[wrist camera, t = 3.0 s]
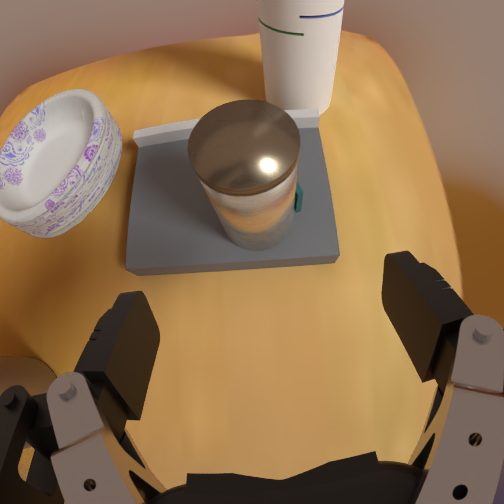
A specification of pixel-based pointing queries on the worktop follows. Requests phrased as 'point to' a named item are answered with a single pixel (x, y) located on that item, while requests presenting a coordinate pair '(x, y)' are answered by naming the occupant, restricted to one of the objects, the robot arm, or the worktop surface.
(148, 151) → the display shelf
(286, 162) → the tea tin
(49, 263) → the worktop surface
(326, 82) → the cylindrical container
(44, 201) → the paper bowls
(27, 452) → the worktop surface
